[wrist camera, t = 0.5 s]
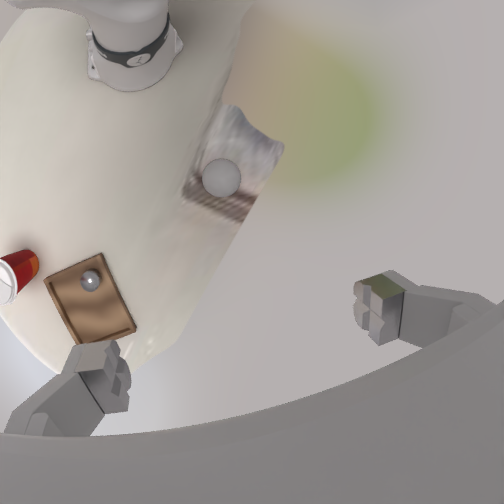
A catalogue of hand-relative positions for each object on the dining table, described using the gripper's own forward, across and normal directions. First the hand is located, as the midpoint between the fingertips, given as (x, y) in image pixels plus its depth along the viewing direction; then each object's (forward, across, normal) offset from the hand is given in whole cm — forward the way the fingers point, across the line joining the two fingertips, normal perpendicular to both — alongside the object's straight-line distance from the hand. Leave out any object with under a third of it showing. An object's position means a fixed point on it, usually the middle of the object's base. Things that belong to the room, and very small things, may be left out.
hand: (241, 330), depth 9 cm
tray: (+43, +24, +17) cm, 52 cm away
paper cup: (+43, +36, +6) cm, 56 cm away
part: (+43, +22, +12) cm, 50 cm away
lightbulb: (+48, -4, 0) cm, 48 cm away
